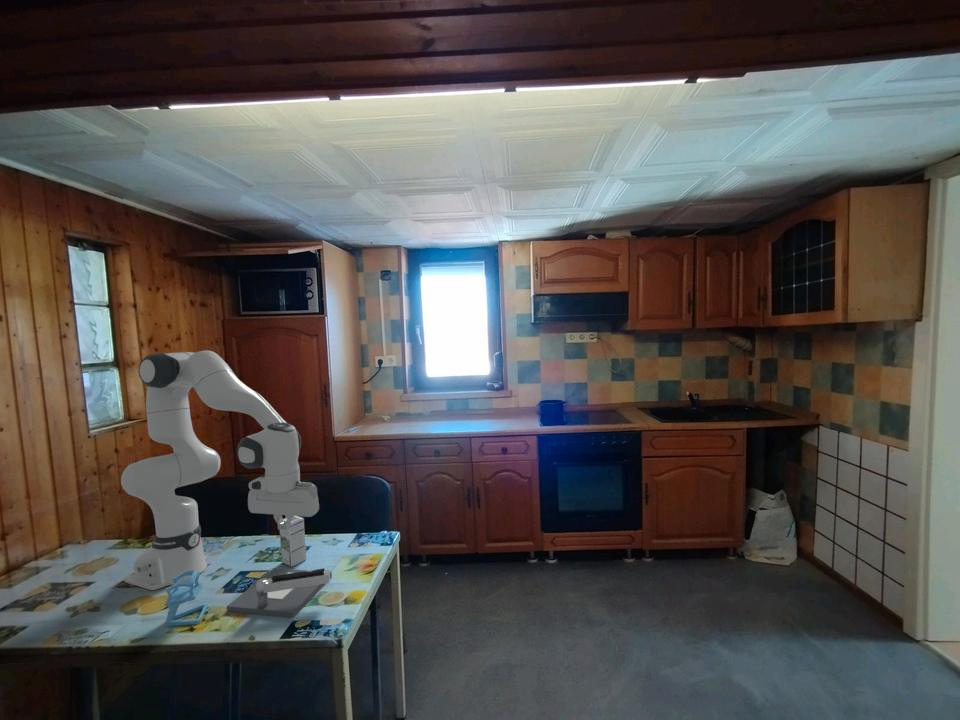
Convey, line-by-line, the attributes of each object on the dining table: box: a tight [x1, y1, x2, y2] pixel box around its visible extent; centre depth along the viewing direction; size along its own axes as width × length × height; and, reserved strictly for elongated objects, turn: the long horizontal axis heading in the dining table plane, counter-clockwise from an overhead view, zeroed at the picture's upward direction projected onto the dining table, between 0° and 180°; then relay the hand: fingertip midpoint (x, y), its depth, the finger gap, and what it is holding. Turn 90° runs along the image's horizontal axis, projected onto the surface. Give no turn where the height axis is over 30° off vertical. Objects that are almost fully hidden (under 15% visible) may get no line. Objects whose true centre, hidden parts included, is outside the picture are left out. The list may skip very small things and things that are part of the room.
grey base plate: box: [226, 567, 333, 619], centre depth 117 cm, size 20×19×5 cm
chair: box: [164, 571, 208, 627], centre depth 107 cm, size 8×8×12 cm
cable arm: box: [255, 568, 331, 595], centre depth 111 cm, size 3×19×4 cm, turn 103°
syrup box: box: [279, 516, 307, 568], centre depth 135 cm, size 6×6×14 cm
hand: (284, 528), depth 115 cm, fingers closed
